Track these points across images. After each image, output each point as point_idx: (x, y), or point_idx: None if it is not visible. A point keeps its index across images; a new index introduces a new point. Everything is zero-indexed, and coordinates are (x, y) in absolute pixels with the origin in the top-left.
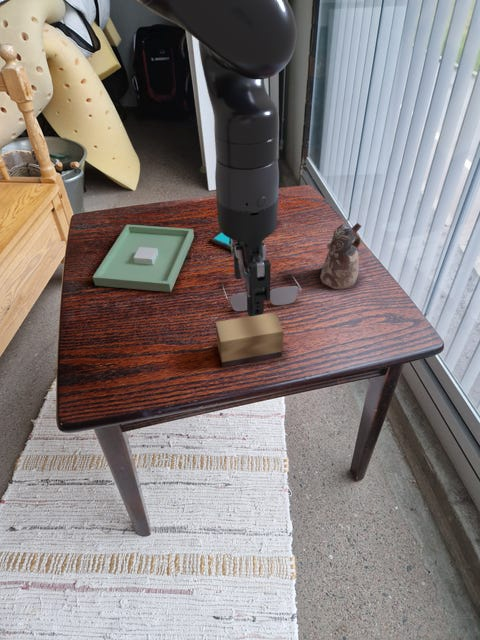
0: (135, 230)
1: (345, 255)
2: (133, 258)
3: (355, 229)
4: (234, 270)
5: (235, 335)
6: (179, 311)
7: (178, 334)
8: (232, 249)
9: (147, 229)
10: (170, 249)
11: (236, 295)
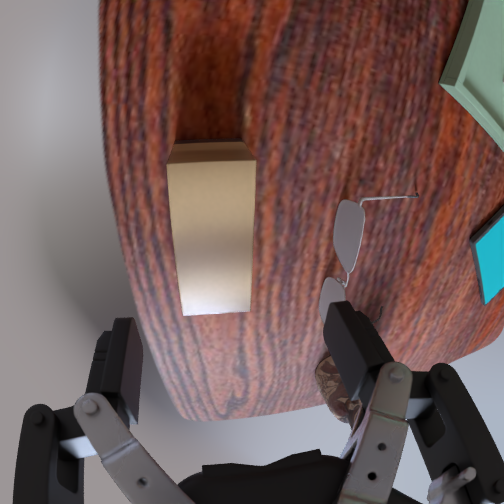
0: None
1: (343, 414)
2: None
3: None
4: (356, 316)
5: (184, 208)
6: (382, 79)
7: (310, 56)
8: (359, 453)
9: None
10: None
11: (362, 224)
